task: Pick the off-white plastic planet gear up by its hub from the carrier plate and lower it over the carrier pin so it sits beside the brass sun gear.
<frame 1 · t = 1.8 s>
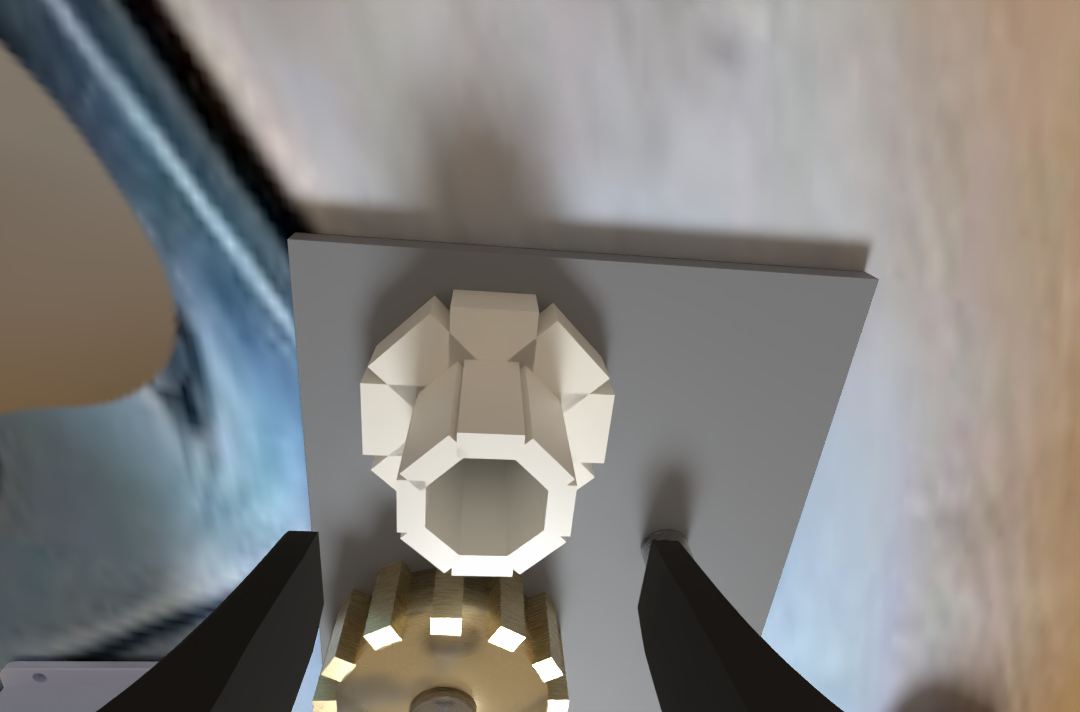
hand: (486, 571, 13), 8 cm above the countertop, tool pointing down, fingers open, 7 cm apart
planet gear: (488, 401, 20), point 1 cm above the countertop, touching carrier plate
carrier pin: (663, 547, 24), resting on carrier plate
carrier plate: (557, 530, 24), on the countertop
sun gear: (448, 639, 25), resting on carrier plate
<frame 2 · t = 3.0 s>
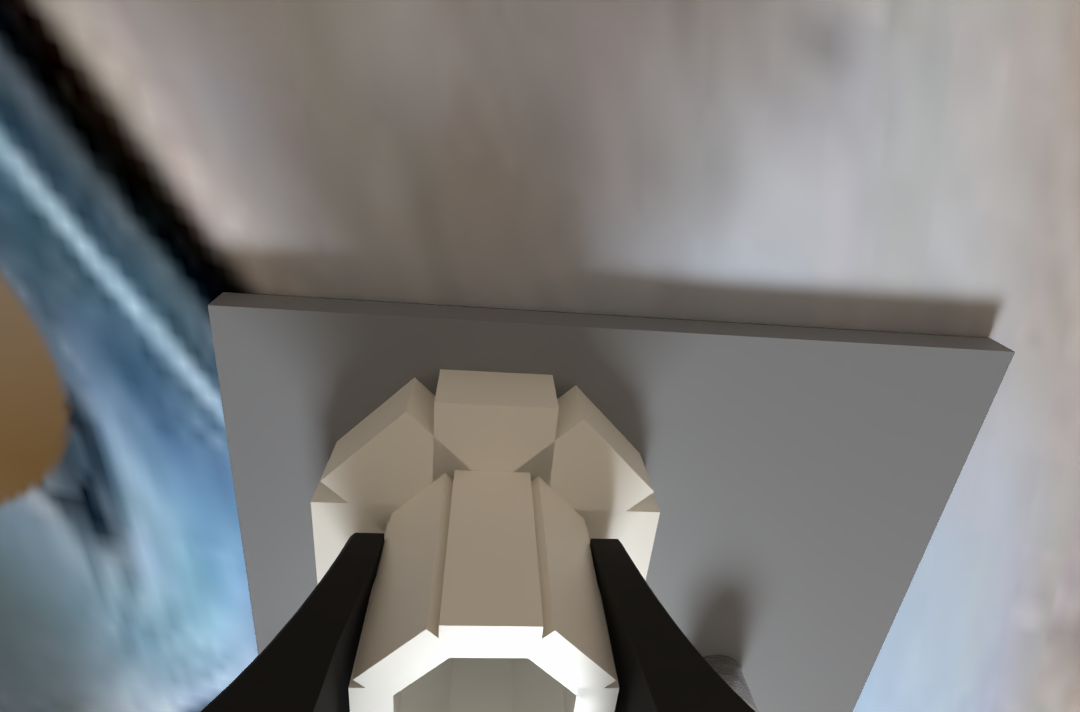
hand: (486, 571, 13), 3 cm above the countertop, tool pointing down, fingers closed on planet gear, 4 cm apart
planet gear: (487, 508, 15), point 1 cm above the countertop, touching carrier plate, gripper
carrier pin: (711, 675, 19), resting on carrier plate
carrier plate: (576, 651, 19), on the countertop
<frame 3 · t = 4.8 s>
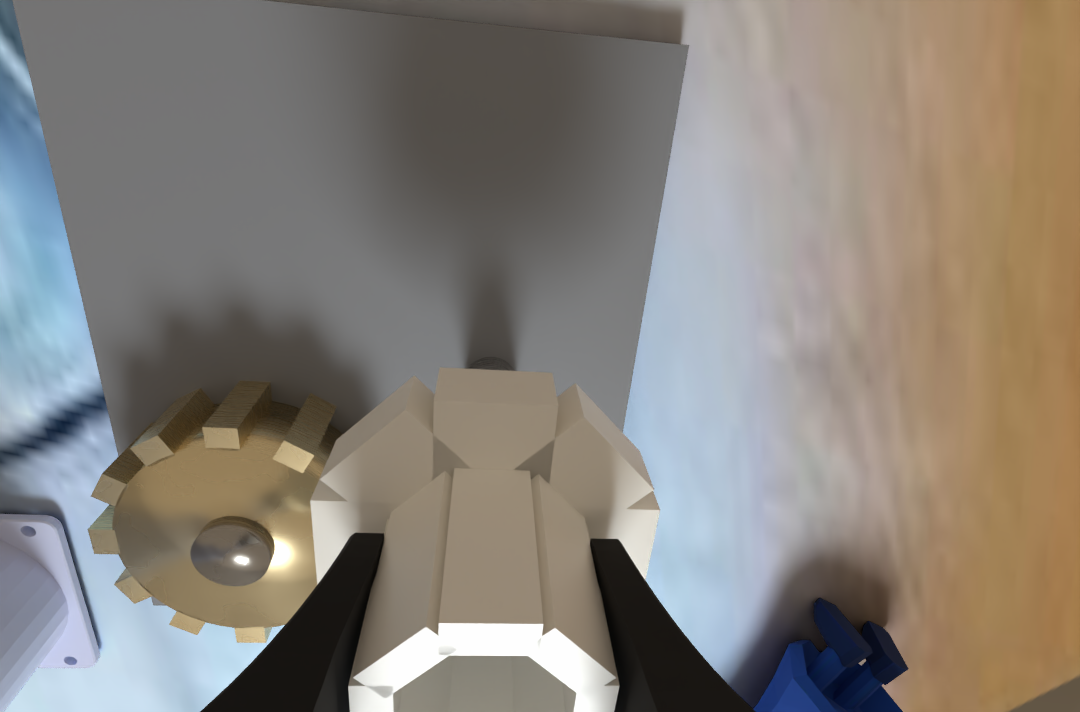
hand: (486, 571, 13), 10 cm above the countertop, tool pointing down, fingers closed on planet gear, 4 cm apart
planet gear: (487, 507, 15), point 8 cm above the countertop, touching gripper
carrier pin: (490, 380, 22), resting on carrier plate
carrier plate: (378, 364, 22), on the countertop
sun gear: (267, 488, 23), resting on carrier plate
toy: (748, 699, 32), on the countertop
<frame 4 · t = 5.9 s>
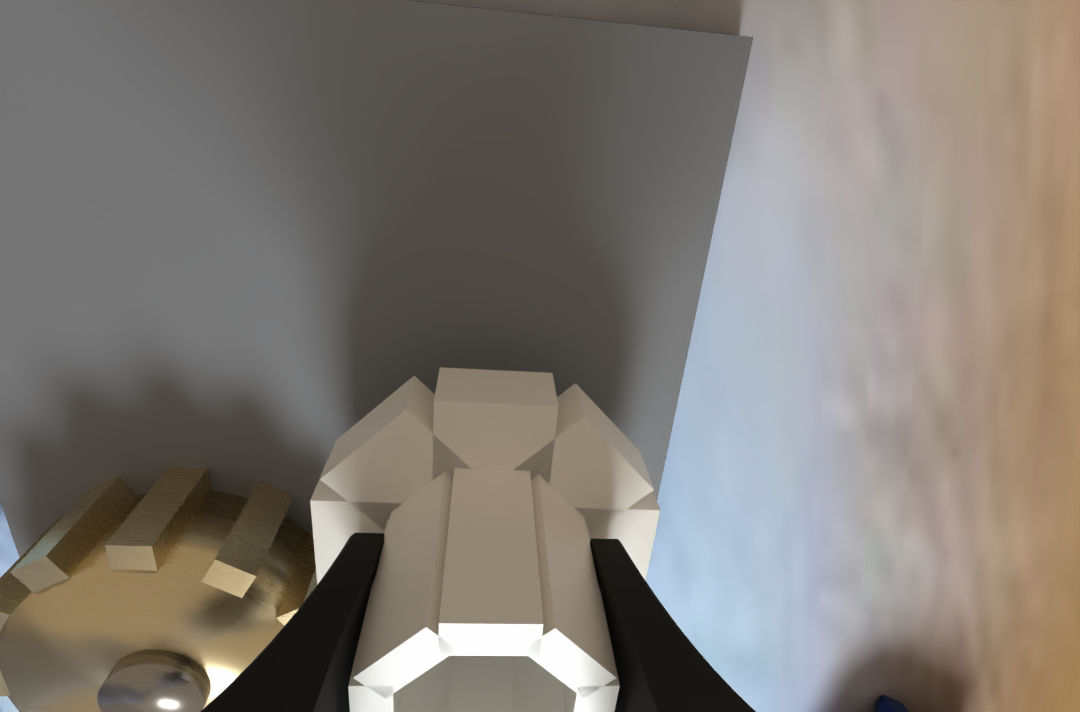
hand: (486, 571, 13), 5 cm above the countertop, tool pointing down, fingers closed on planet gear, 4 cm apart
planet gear: (487, 507, 15), point 3 cm above the countertop, touching gripper
carrier plate: (346, 441, 18), on the countertop
sun gear: (210, 592, 19), resting on carrier plate
when the fingers open (4 cm above the countertop, at t = 6.6 s): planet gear drops 1 cm, resting on carrier plate.
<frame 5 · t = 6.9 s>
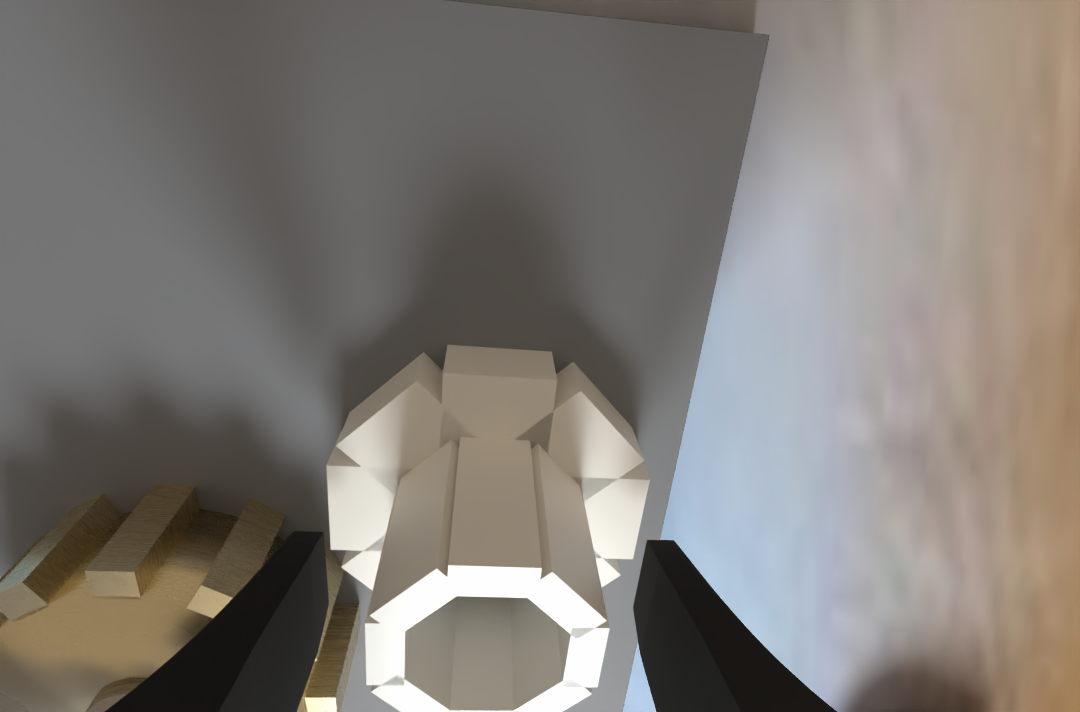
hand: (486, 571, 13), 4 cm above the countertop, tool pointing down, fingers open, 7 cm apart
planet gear: (489, 478, 16), point 1 cm above the countertop, touching carrier plate
carrier plate: (340, 456, 17), on the countertop
sun gear: (199, 612, 18), resting on carrier plate
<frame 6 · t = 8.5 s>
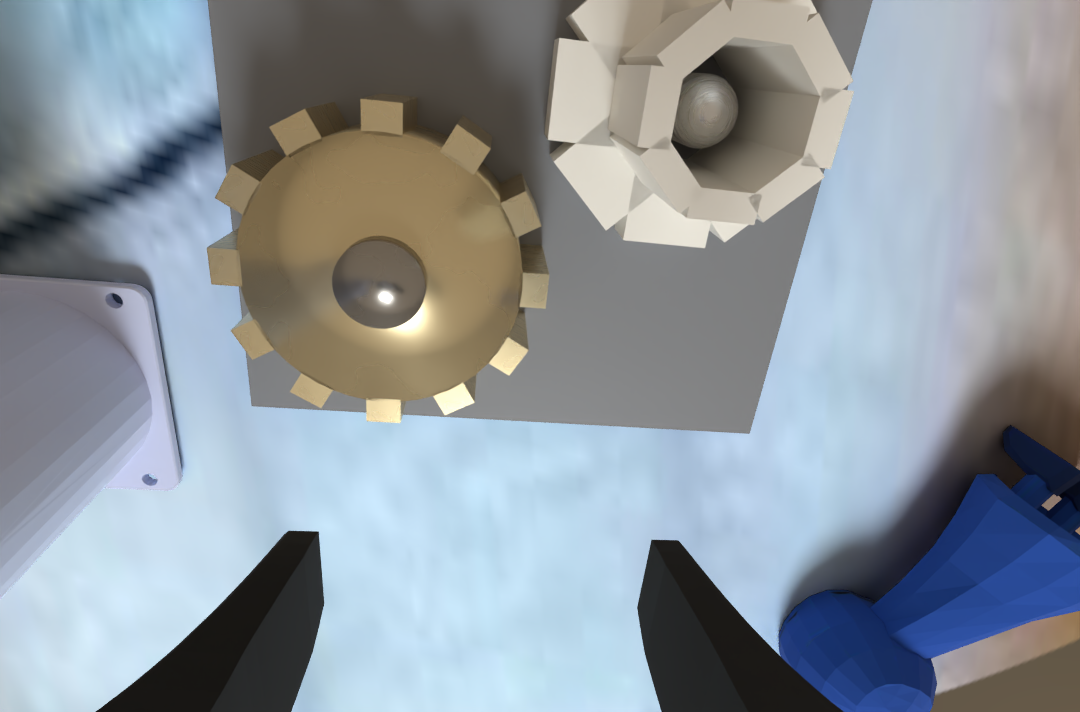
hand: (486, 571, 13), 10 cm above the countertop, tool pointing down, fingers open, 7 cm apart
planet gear: (677, 104, 18), point 1 cm above the countertop, touching carrier plate
carrier pin: (676, 105, 18), resting on carrier plate
carrier plate: (539, 90, 19), on the countertop
sun gear: (398, 249, 20), resting on carrier plate
toy: (901, 559, 28), on the countertop
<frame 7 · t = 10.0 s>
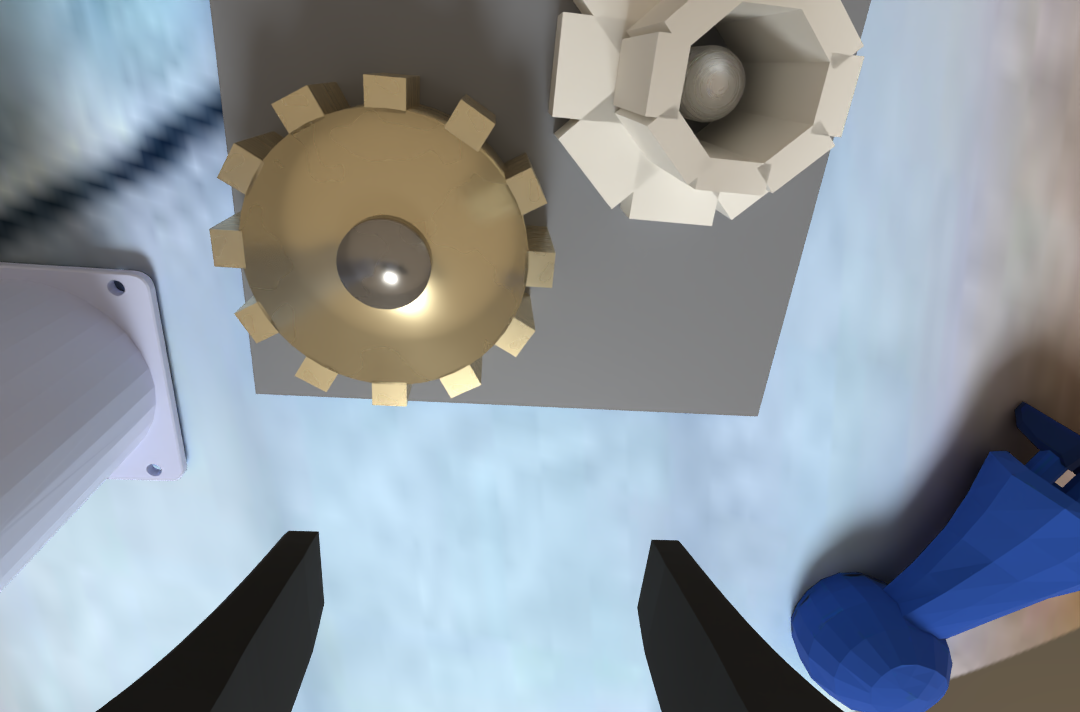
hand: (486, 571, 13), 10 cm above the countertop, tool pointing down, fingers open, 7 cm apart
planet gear: (682, 80, 18), point 1 cm above the countertop, touching carrier plate
carrier pin: (681, 82, 18), resting on carrier plate
carrier plate: (542, 68, 18), on the countertop
sun gear: (402, 232, 19), resting on carrier plate
toy: (913, 540, 28), on the countertop
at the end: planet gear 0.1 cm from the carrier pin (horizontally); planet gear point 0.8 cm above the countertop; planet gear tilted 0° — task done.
